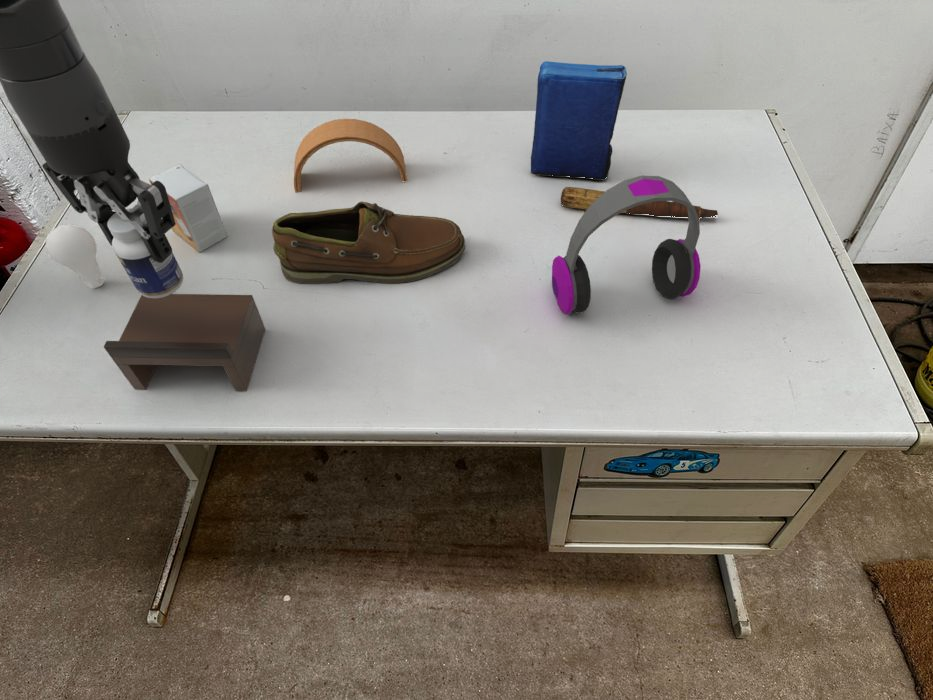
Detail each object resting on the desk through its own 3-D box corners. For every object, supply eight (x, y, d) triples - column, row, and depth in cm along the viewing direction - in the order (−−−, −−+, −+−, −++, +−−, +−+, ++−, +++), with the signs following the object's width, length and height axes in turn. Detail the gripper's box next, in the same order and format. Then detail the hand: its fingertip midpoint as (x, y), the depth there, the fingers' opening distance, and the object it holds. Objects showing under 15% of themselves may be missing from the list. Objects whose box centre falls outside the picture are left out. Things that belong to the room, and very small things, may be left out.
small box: (172, 231, 101) (146, 178, 93) (202, 216, 103) (179, 162, 95) (199, 254, 97) (174, 200, 89) (229, 237, 100) (208, 183, 92)
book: (608, 168, 112) (630, 60, 96) (608, 186, 109) (631, 77, 93) (530, 162, 113) (540, 54, 98) (528, 179, 110) (538, 70, 94)
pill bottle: (127, 292, 72) (88, 227, 65) (158, 263, 75) (124, 199, 68) (164, 305, 71) (128, 241, 63) (194, 275, 74) (163, 211, 66)
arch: (296, 173, 111) (283, 122, 103) (405, 164, 113) (400, 114, 105) (295, 192, 108) (281, 141, 100) (407, 182, 109) (403, 132, 102)
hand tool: (560, 197, 106) (563, 182, 104) (714, 217, 103) (720, 201, 101) (558, 210, 104) (561, 195, 102) (715, 230, 101) (722, 214, 99)
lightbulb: (94, 268, 95) (58, 211, 87) (127, 276, 94) (93, 220, 86) (67, 295, 92) (26, 238, 83) (101, 304, 91) (63, 247, 82)
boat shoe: (472, 273, 95) (472, 222, 87) (282, 302, 91) (265, 252, 83) (458, 230, 101) (457, 179, 93) (280, 255, 97) (264, 205, 90)
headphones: (559, 328, 87) (579, 218, 72) (543, 286, 93) (558, 174, 77) (694, 308, 90) (742, 197, 74) (670, 267, 95) (710, 156, 80)
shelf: (162, 327, 88) (135, 282, 81) (265, 328, 87) (248, 284, 80) (134, 389, 81) (103, 346, 74) (246, 391, 81) (226, 348, 74)
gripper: (-25, 114, 55) (69, 254, 68) (97, 150, 52) (171, 290, 65) (40, 76, 60) (117, 215, 73) (157, 107, 56) (215, 246, 69)
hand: (142, 249), depth 69 cm, fingers closed on pill bottle, 5 cm apart
